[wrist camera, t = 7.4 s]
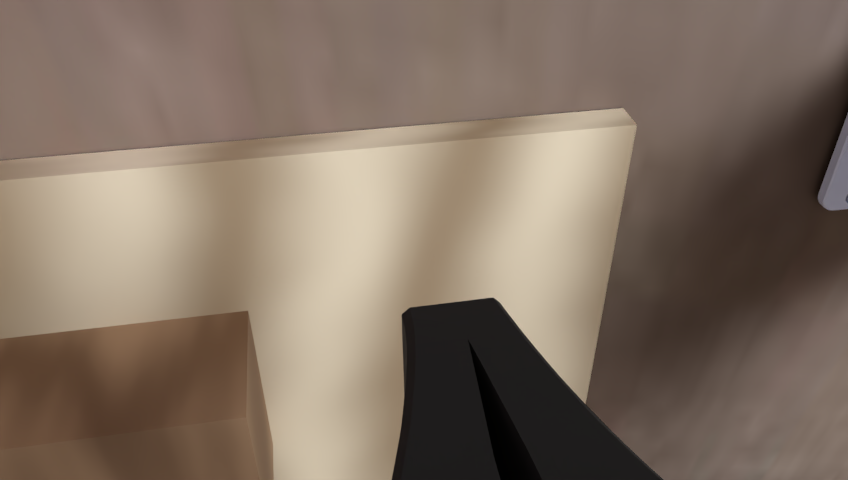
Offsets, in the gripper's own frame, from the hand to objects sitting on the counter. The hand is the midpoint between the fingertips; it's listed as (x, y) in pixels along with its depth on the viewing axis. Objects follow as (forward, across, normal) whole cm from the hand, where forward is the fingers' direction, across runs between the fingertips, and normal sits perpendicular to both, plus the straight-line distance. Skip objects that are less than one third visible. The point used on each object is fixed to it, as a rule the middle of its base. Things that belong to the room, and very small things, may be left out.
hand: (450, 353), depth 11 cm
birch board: (+10, +5, +10) cm, 15 cm away
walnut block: (+7, +4, +10) cm, 13 cm away
